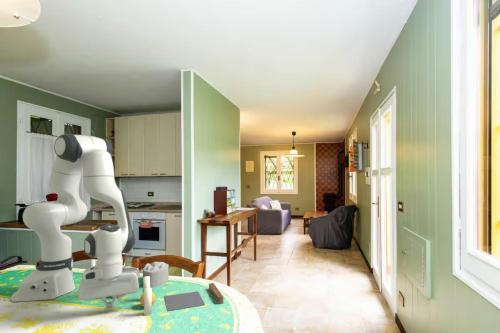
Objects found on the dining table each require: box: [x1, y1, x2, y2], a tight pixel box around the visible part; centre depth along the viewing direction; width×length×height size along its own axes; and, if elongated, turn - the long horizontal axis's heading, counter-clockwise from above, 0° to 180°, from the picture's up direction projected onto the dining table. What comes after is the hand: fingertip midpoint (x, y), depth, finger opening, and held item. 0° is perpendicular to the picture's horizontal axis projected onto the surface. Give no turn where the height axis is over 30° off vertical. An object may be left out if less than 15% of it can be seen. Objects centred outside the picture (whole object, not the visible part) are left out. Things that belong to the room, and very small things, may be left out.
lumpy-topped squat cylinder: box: [142, 261, 170, 289], centre depth 139 cm, size 10×13×9 cm
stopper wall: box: [208, 282, 224, 305], centre depth 124 cm, size 2×16×2 cm, turn 21°
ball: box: [139, 291, 156, 307], centre depth 114 cm, size 6×6×6 cm
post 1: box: [142, 276, 150, 294], centre depth 120 cm, size 3×3×9 cm
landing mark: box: [163, 290, 206, 312], centre depth 119 cm, size 14×14×1 cm
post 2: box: [143, 287, 153, 316], centre depth 108 cm, size 3×3×9 cm
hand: (109, 307), depth 109 cm, fingers closed
